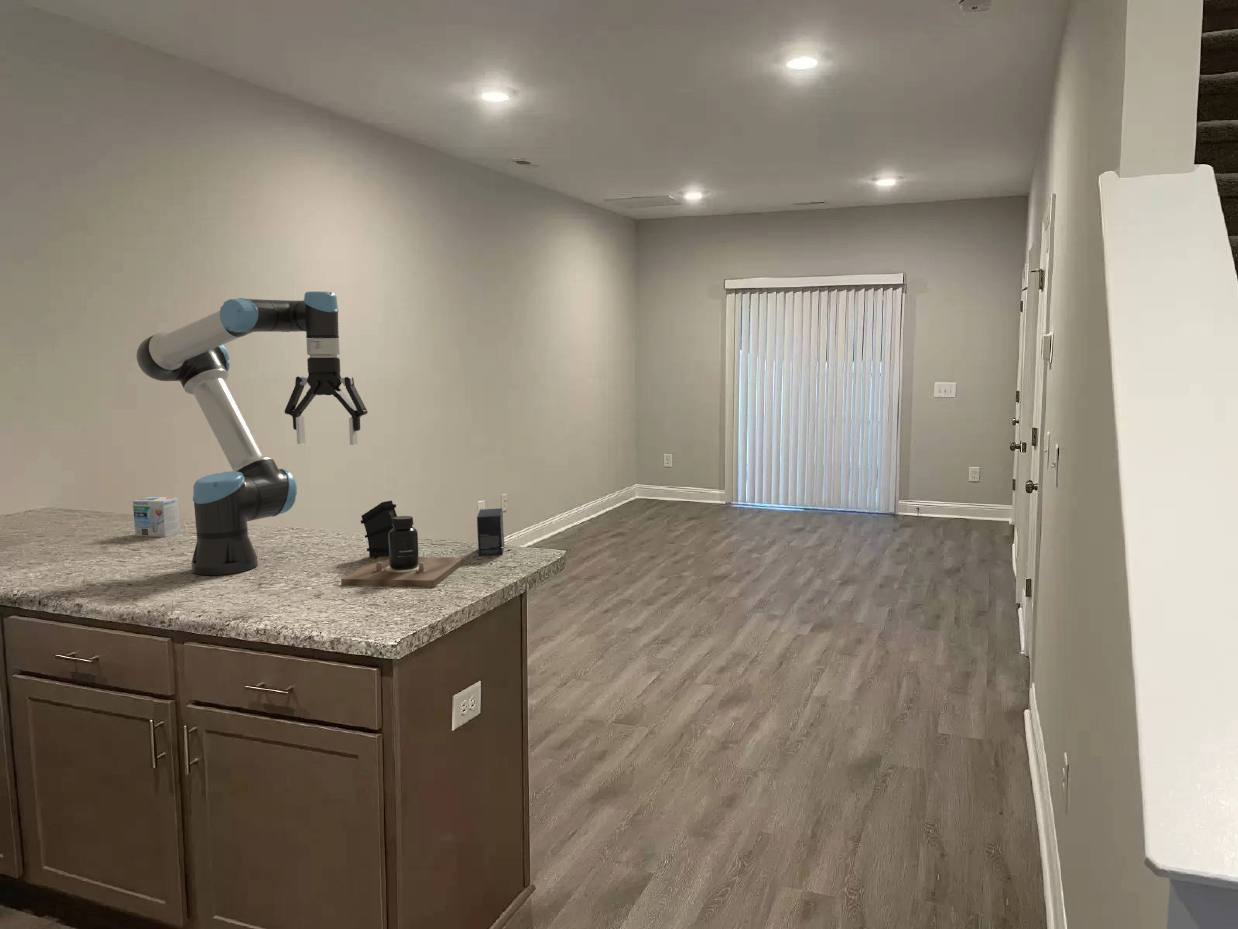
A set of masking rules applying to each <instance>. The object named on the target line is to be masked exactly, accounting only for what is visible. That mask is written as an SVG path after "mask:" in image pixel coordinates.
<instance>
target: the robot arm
mask: <svg viewBox="0 0 1238 929" xmlns="http://www.w3.org/2000/svg"><path fill="white" fill-rule="evenodd" d="M261 332H265V333H266V332H271V333H272V332H277V333H278V332H279V333H291V332H295V333H296V332H305V339H306V354H307V356H309V357H307V359H306V360H307V361H306V362H307V374H308V375H307V377H305V376H304V375H299V376H296V377H295V383H294V388H293V390H292V391H291V394H290V397H289V399H288V402H287V404H286V407H285V409H284V411H283V412H284V414H285V415H289V416H291V417H292V427H293V430H295V431H296V444H297V445H301V444H305V443H306V434H305V433H306V431H305V430H306V429H305V416H304V415H303V412H304V411H305V410H306V409H307V407H308V406H309V405H310V403H311V402H312V401H313V399H314V398H315V397H316V396H333V397H335V398H336V399H337V401H338V402H339V404H341V405H342V406H343V407H344V409H345V410H346V411H347V413H349V415H350V416H351V417H349V418H348V428H349V429H348V430H349V445H350V446H354V445H357V444H358V432H359V431H360V430H361V417H363V416H365V415H367V414H368V413H369V412H368V409H367V407H366V405H365V403H364V401H363V400H362V398H361V396H360V394H359V391H358V390H357V388H356V386H355V380H354V377H353V376H351V375H350V376H346V377H342V376H341V359H340V357H338V355H340V337H339V333H340V332H339V305H338V297H337V294H335V292H333V291H306V292H304V296H303V300H286V299H258V298H257V299H256V298H245V297H244V298H243V297H238V298H231V299H227V300H225V301H224V302H223V304H222V305H221V307H220V310H217V311H216V312H213V313H212V314H211V313H210V314H209V315H207V316H204V317H202V318H200V319H197V320H195V321H193V322H190V323H188V324H186V325H184V326H181V327H180V328H177V329H174V330H172V331H171V332H164V331H163V332H158V333H155V334H153V335H150V336H149V337H146V338H145V339H144V340H143V341H141V343H140V344H139V345H138V347H137V350H136V361H137V362H136V363H137V364H138V366H139V368H140V370H141V371H142V372H143V373H144V375H146V376H148V377H149V378H151V379H153V380H156V381H161V382H180V384H181V385H182V388H183V389H184V392H185V393H186V394H188V395H189V394H190V395H194V397H195V399H196V402H197V403H198V405H199V408H200V410H201V411H202V413H203V415H204V417H205V419H206V421H207V423H208V425H209V426H210V428H211V431H212V432H213V435H214V436H215V438H216V440H217V442H218V444H219V446H220V448H221V450H222V452H223V454H224V455H225V458H226V460H227V461H228V464H229V465H230V467H231V469H232V471H223V472H217V473H211V474H209V475H208V474H207V475H205V476H203V477H200V478H199V479H197V480H196V481H195V482H194V484H193V487H192V488H193V489H192V490H193V492H192V494H193V496H192V501H193V506H194V516H195V517H194V518H195V519H194V520H195V530H196V543H195V546H194V551H193V554H192V560H191V565H190V566H191V573H193V574H195V575H200V576H220V575H222V576H223V575H230V574H237V573H240V572H241V573H242V572H245V571H249V570H252V569H254V568H256V567H257V566H258V565H259V562H258V560H259V559H258V555H257V552H256V550H255V549H254V546H253V544H252V541H251V539H250V536H249V530H248V522H251V521H257V520H260V519H264V518H269V517H276V516H278V515H281V514H285V513H287V512H289V511H290V510H291V509H292V508H293V506H294V504H295V502H296V499H297V494H298V488H297V482H296V479H295V477H294V475H293V474H292V472H291V471H289V470H287V469H284V468H278V466H277V463H276V462H275V460H274V458H272V457H270V456H269V457H268V456H265V454H264V452H263V450H262V448H261V447H260V445H259V442H258V441H257V439H256V437H255V435H254V433H253V431H252V429H251V427H250V426H249V423H248V421H247V420H246V418H245V416H244V414H243V412H242V410H241V408H240V406H239V404H238V403H237V400H236V399H235V397H234V394H233V392H232V391H231V389H230V387H229V385H228V384H227V380H228V378H229V370H230V364H231V363H230V362H229V360H230V355H229V352H228V350H227V348H226V346H224V345H225V344H227V343H230V342H232V341H235V340H237V339H239V338H243V337H245V336H247V335H249V334H252V333H261ZM342 384H343V386H344V387H345V389H346V391H347V393H348V395H349V397H350V399H351V400H352V402H351V400H350V399H349V398H348V396H347V395H345V392H344V391H343V389H341V385H342ZM306 385H308V386H309V389H308V390H307V391H306V394H305V395H304V396H303V398H302V399H301V400H300V397H302V394H303V391H304V388H305V386H306ZM299 401H300V402H299ZM298 402H299V403H298ZM302 415H303V416H302Z"/></svg>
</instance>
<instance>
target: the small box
mask: <svg viewBox="0 0 1238 929" xmlns="http://www.w3.org/2000/svg"><path fill="white" fill-rule="evenodd" d="M503 515H504V513H503V508H502V507H501V508H487V509H486V508H485V509H479V511H478V514H477V516H476V528H477V529H476V530H477V545H478V547H477V548H478V556H479V557H484V556H486V557H487V556H489V557H490V556H503V554H504V552H505V551H504V550H505V535H504V516H503ZM501 547H504V548H501Z"/></svg>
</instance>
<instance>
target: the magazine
mask: <svg viewBox="0 0 1238 929" xmlns="http://www.w3.org/2000/svg"><path fill="white" fill-rule="evenodd" d="M395 508H397V504H396V503H393V500H388V501H382V502H380V503H378V504H377V505H375V506H374V507H372V508H371V509H369V510H368V511H366V512H365V513H364V514H362V515H361V520H360V524H361V525H362V524H363V526H364V529H365V533H366V534H365V535H364V538H365V539H366V538H367V543H368V548H366V551H367V552H368V554H369V555H368V556H369V557H370V558H374V559H376V558H378V557H389V537H388V534H389V531H390V530H391V529H392V528H393V526H392V518H393V517H397V516H398V515H397V512H396V509H395Z"/></svg>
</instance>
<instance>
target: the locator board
mask: <svg viewBox="0 0 1238 929" xmlns="http://www.w3.org/2000/svg"><path fill="white" fill-rule="evenodd" d="M464 564H465V558H464V557H449V556H448V557H446V556H445V557H441V556H440V557H439V556H438V557H434V556H419V565H418V566H417V567H416V568H413V569H408V570H395V569H392V568H391V567H390V563H389V557H378V558H374V559H373V560H371V561H370V562H368V563H366V564H365V565H363V566H361V567H359V568H357V569H355V570H354V571H352V572H351V573H348V574H347V575H345V576H344V577H342V578H341V579H340V581H341V584H340V585H341V586H351V587H353V586H355V587H356V586H357V587H360V586H362V587H413V588H415V587H416V588H417V587H418V588H419V587H420V588H421V587H422V588H435V587H436V586H437V585H439V584H441V582H443V581H444V580H445V579H446V578H447V577H449V576H450V575H452V574H453V573H454V572H455V571H456V570H458V569H460V567H462V566H463V565H464Z"/></svg>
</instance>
